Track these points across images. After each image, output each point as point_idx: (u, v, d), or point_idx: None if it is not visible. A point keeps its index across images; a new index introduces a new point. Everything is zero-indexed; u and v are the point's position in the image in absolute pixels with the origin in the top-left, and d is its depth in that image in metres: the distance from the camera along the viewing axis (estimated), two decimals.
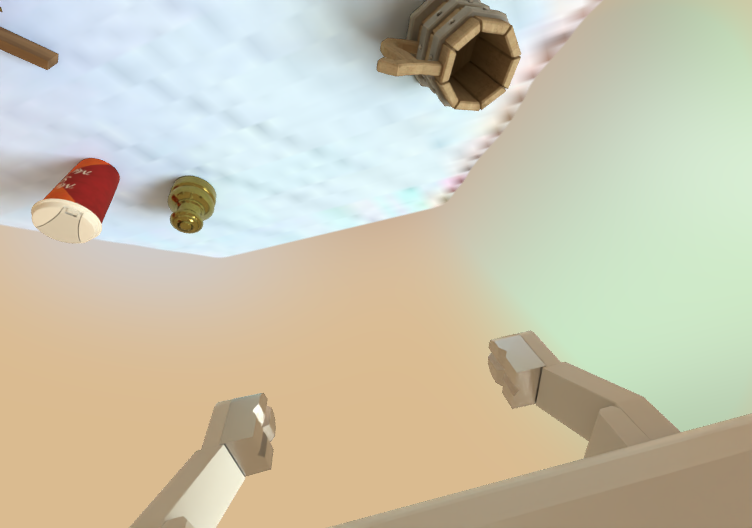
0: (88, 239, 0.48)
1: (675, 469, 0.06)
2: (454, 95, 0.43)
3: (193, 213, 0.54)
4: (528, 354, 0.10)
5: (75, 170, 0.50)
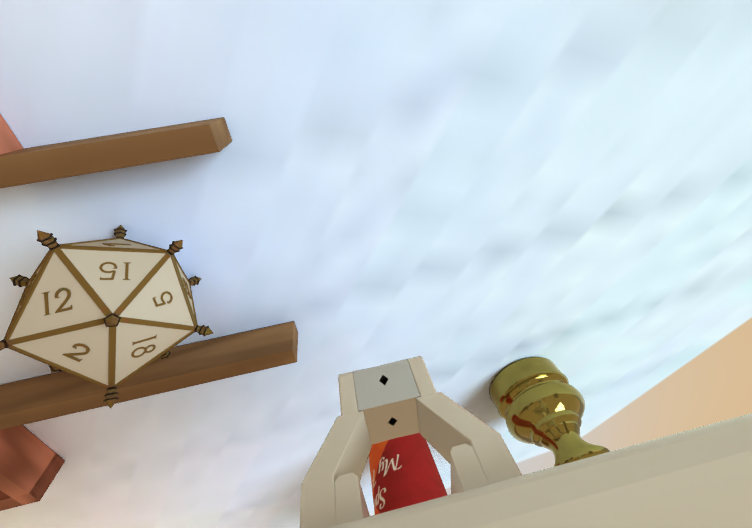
0: None
1: (675, 469, 0.06)
2: None
3: (596, 451, 0.25)
4: (407, 383, 0.10)
5: (379, 465, 0.29)
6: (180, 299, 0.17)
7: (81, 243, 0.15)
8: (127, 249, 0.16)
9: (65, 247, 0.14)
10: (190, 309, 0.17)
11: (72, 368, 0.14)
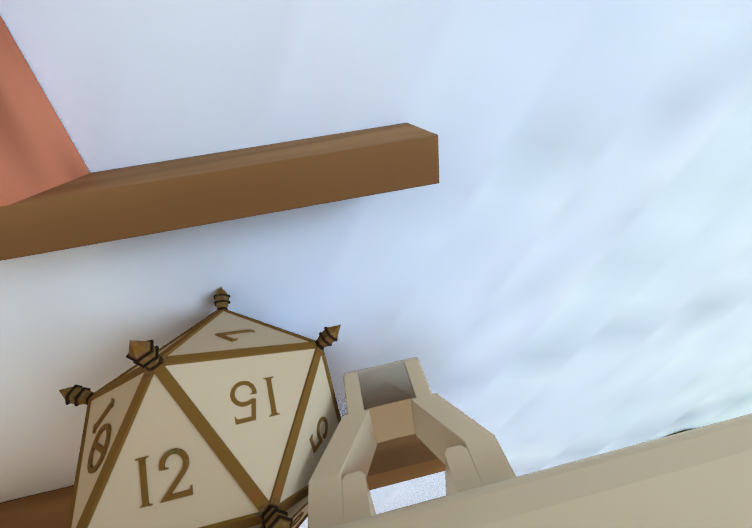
0: None
1: (675, 469, 0.06)
2: None
3: None
4: (403, 384, 0.10)
5: None
6: (333, 422, 0.10)
7: (187, 340, 0.09)
8: (263, 350, 0.09)
9: (172, 362, 0.08)
10: None
11: None
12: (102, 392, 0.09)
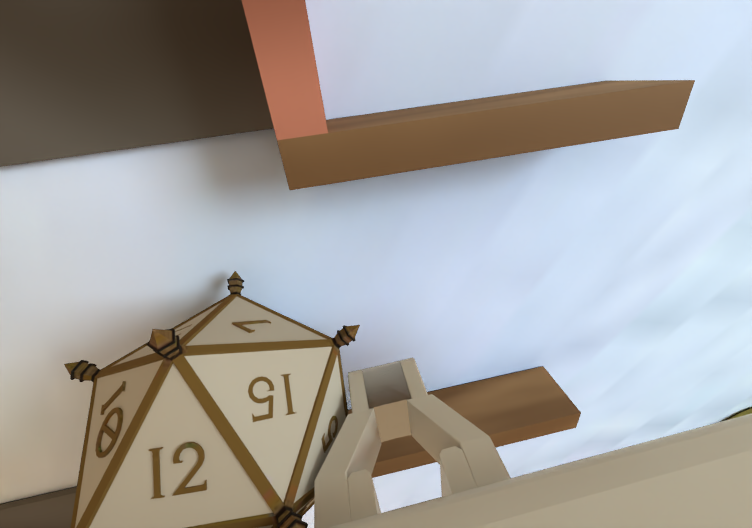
0: None
1: (675, 469, 0.06)
2: None
3: None
4: (399, 385, 0.10)
5: None
6: (342, 420, 0.10)
7: (204, 328, 0.09)
8: (282, 345, 0.09)
9: (192, 352, 0.07)
10: None
11: None
12: (111, 372, 0.09)
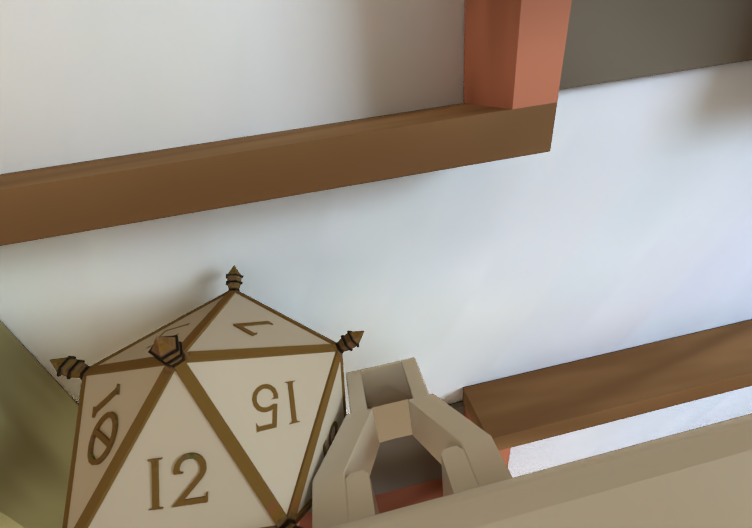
0: None
1: (675, 469, 0.06)
2: None
3: None
4: (400, 384, 0.10)
5: None
6: None
7: (205, 331, 0.08)
8: (286, 350, 0.09)
9: (195, 359, 0.07)
10: None
11: None
12: (103, 371, 0.08)
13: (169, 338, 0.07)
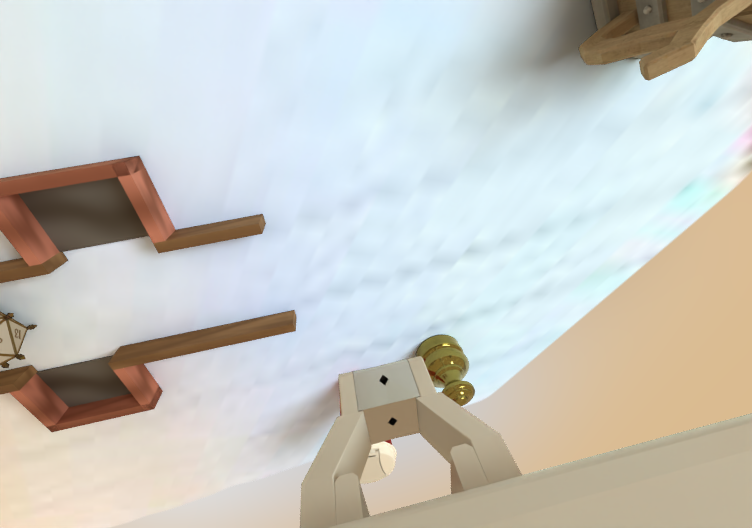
0: (391, 469, 0.42)
1: (675, 469, 0.06)
2: None
3: (461, 383, 0.44)
4: (408, 383, 0.10)
5: None
6: (8, 341, 0.35)
7: None
8: None
9: None
10: (14, 346, 0.35)
11: None
12: None
13: None
